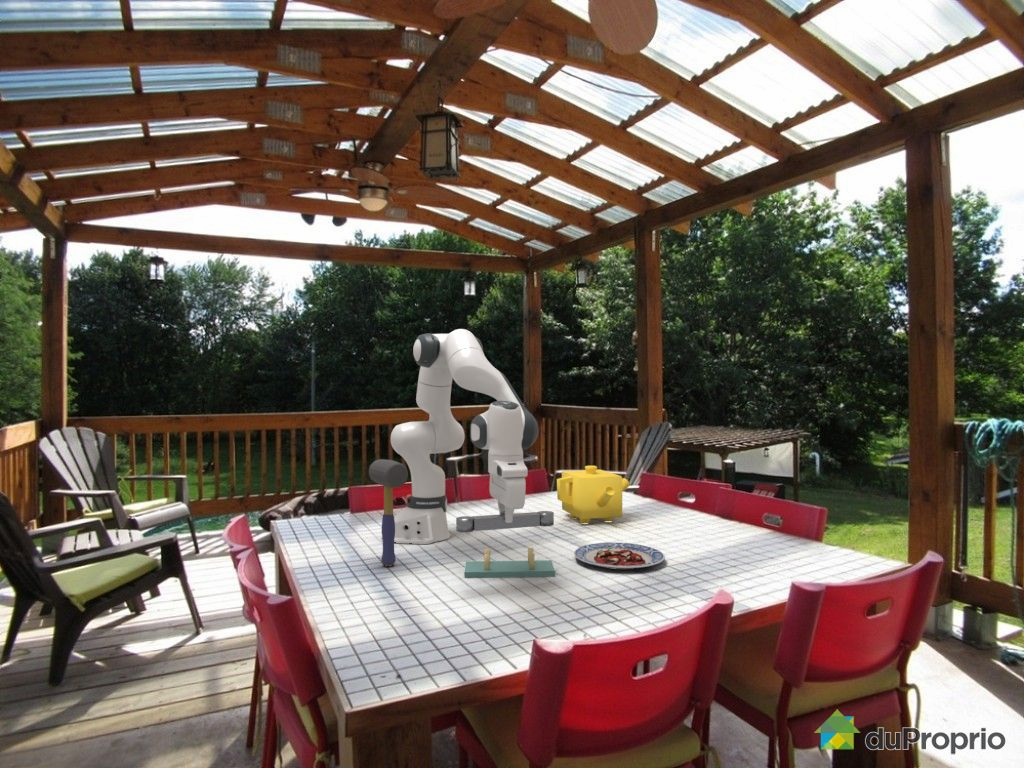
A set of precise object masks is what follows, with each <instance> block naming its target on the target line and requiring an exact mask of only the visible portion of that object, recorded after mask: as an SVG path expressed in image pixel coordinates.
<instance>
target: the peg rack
mask: <svg viewBox="0 0 1024 768" xmlns="http://www.w3.org/2000/svg"><path fill="white" fill-rule="evenodd" d="M535 556H536V555H535V553H534V548H533V547H527V560H491V548H489V547H487V548H486V547H485V548H484V559H483V560H484V561H483V560H481V561H480V560H477V561H476V560H475V561H474V560H472V561H471V560H470V561H467V560H466V561H465V566H464V572H463V573H464V575H463V576H464V579H477V578H478V579H481V578H482V579H483V578H487V579H488V578H494V579H495V578H539V577H540V578H541V577H543V578H544V577H545V578H549V577H550V578H551V577H556V571H555V567H554V565H553V561H552V560H550V559H542V560H539V559H538V560H535Z"/></svg>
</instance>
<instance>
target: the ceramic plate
mask: <svg viewBox="0 0 1024 768" xmlns="http://www.w3.org/2000/svg"><path fill="white" fill-rule="evenodd" d="M573 554H574V556H575V558H576V559H577V560H578V561H581V562H583V563H586V564H589V565H592V566H596V567H600V566H602V567H601V568H604V567H608V568H607V569H609V568H616V569H615V570H635V569H634V568H637V569H641V568H645V567H646V568H647V567H652V566H655V565H658V564H661V563H662V562H663V561H665V556H666V555H665V553H664V552H662V551H660V549H657V548H654V547H651V546H648V545H644V544H637V543H631V542H616V541H615V542H600V543H599V542H598V543H597V542H596V543H591V544H586V545H583V546H580V547H578V548H577V549H576V550H575V551H574V553H573Z"/></svg>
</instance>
